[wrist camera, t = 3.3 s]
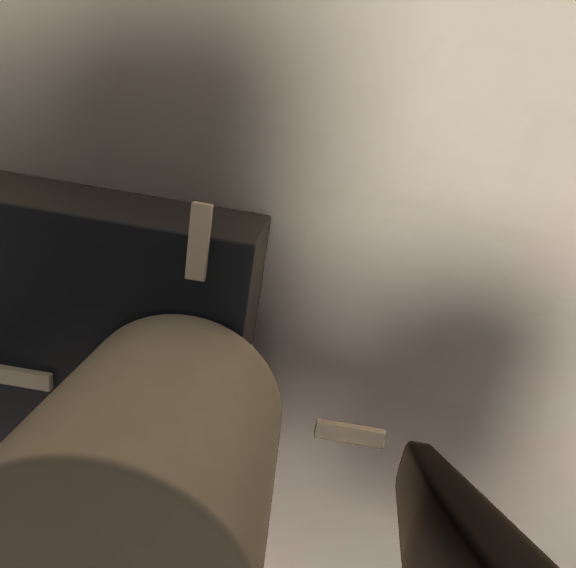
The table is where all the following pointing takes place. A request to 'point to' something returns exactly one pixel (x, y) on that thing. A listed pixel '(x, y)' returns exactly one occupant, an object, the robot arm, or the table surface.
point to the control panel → (117, 280)
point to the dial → (147, 455)
